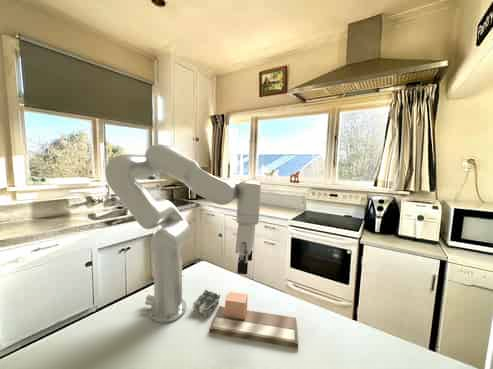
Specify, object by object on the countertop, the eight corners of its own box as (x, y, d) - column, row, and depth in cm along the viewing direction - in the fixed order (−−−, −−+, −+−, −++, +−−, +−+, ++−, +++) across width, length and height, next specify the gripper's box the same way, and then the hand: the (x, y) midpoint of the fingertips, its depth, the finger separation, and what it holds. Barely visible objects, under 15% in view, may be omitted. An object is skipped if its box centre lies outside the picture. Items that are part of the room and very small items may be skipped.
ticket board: (209, 332, 69) (209, 326, 69) (219, 309, 80) (219, 304, 79) (297, 348, 64) (298, 341, 64) (295, 321, 75) (296, 315, 75)
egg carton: (208, 320, 75) (208, 309, 74) (190, 314, 77) (190, 303, 77) (222, 301, 85) (222, 292, 84) (205, 297, 87) (205, 287, 87)
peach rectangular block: (224, 316, 74) (225, 300, 73) (228, 306, 79) (228, 291, 78) (244, 319, 73) (245, 303, 72) (247, 309, 78) (247, 294, 77)
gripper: (241, 211, 81) (239, 254, 82) (230, 223, 64) (227, 278, 65) (261, 213, 79) (258, 257, 81) (255, 226, 62) (252, 281, 64)
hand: (245, 266), depth 73 cm, fingers open, 9 cm apart
